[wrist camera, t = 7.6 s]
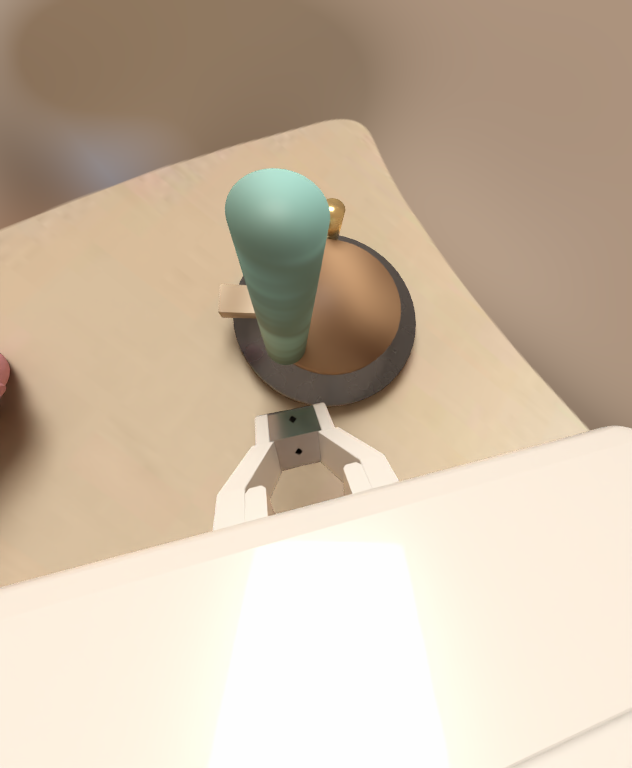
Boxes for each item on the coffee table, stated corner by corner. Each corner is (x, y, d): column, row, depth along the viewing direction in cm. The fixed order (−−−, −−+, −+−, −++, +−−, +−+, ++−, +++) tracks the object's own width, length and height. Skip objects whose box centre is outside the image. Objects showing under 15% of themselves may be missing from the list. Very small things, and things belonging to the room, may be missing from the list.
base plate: (409, 413, 19) (420, 412, 17) (224, 398, 17) (217, 395, 16) (409, 254, 21) (418, 240, 20) (247, 231, 20) (244, 215, 19)
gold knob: (336, 251, 19) (344, 219, 17) (316, 248, 19) (321, 216, 16) (337, 234, 20) (345, 200, 17) (318, 231, 20) (322, 196, 17)
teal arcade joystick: (315, 214, 19) (347, -59, 8) (422, 309, 18) (601, 146, 8) (207, 303, 17) (63, 85, 6) (325, 415, 16) (392, 389, 6)
